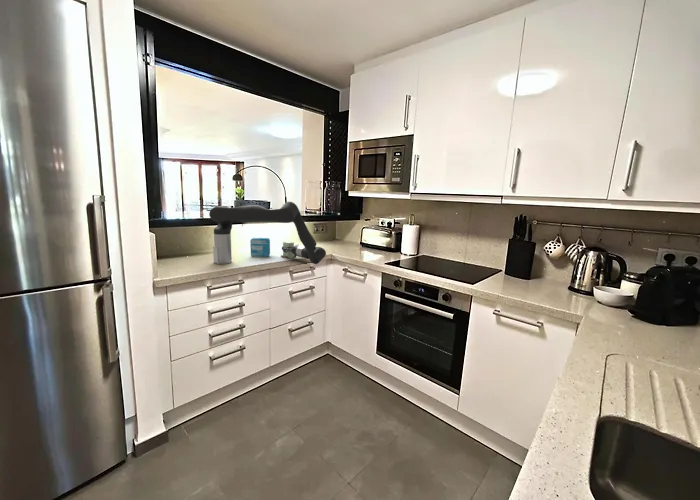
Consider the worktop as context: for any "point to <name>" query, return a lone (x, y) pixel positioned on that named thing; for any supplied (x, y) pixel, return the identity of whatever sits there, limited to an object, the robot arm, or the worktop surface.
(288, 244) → the sage block
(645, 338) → the worktop surface
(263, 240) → the data package
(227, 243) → the robot arm
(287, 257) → the chute
